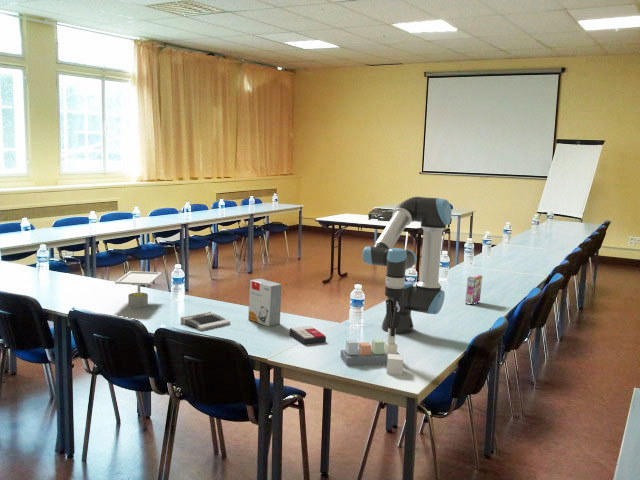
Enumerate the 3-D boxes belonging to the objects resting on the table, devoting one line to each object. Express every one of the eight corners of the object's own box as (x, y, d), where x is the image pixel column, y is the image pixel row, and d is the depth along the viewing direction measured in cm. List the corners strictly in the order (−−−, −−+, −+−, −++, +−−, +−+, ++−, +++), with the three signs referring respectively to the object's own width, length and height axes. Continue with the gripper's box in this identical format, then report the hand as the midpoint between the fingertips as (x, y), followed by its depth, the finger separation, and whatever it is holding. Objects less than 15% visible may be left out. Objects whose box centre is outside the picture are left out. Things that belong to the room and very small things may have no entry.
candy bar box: (473, 305, 348) (475, 277, 346) (464, 304, 351) (467, 276, 349) (480, 302, 357) (482, 275, 355) (472, 301, 360) (474, 274, 358)
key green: (380, 350, 249) (381, 339, 248) (383, 354, 245) (384, 342, 244) (371, 351, 248) (372, 339, 247) (374, 354, 244) (375, 342, 243)
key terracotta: (367, 354, 248) (368, 342, 247) (370, 357, 244) (371, 345, 243) (358, 354, 247) (359, 342, 246) (361, 357, 243) (361, 345, 242)
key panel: (393, 355, 254) (393, 348, 253) (401, 363, 244) (402, 356, 244) (340, 356, 249) (340, 349, 248) (346, 365, 239) (347, 358, 239)
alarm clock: (209, 311, 298) (230, 315, 287) (210, 320, 298) (231, 325, 287) (180, 317, 285) (201, 322, 274) (180, 326, 285) (201, 332, 274)
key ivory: (393, 353, 250) (394, 341, 249) (396, 356, 246) (397, 345, 246) (384, 353, 249) (384, 342, 249) (387, 357, 245) (387, 345, 245)
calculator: (304, 337, 261) (289, 326, 274) (303, 347, 262) (288, 335, 275) (326, 335, 266) (310, 324, 279) (325, 344, 267) (310, 333, 280)
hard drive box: (247, 319, 297) (248, 280, 294) (259, 317, 302) (260, 278, 299) (268, 326, 286) (270, 285, 284) (280, 324, 292) (282, 283, 289)
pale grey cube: (402, 375, 232) (403, 360, 231) (386, 373, 233) (387, 358, 232) (402, 369, 238) (403, 354, 237) (386, 368, 238) (387, 353, 238)
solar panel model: (149, 312, 301) (149, 283, 298) (114, 311, 300) (114, 281, 298) (161, 299, 328) (161, 272, 326) (129, 298, 327) (129, 270, 325)
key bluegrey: (355, 351, 246) (355, 339, 246) (357, 354, 243) (358, 342, 242) (345, 351, 246) (346, 339, 245) (348, 355, 242) (348, 343, 241)
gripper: (380, 283, 249) (377, 338, 252) (391, 290, 237) (387, 348, 240) (398, 283, 251) (394, 338, 254) (409, 290, 238) (405, 348, 242)
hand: (390, 343), depth 247 cm, fingers closed
